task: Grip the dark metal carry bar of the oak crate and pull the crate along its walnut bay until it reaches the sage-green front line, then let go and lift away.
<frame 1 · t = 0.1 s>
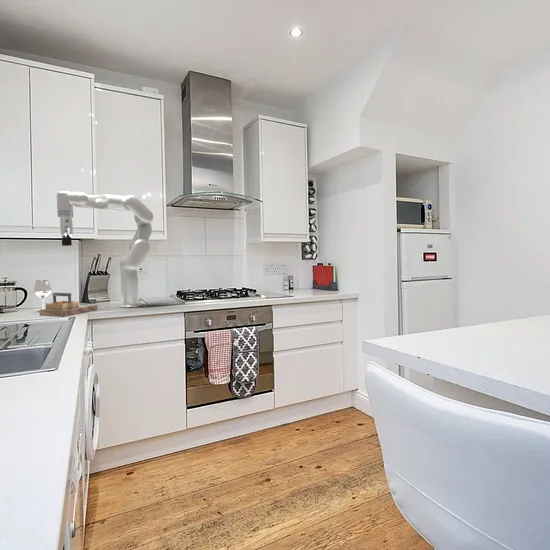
hand: (66, 245, 206), 37 cm above the worktop, tool pointing down, fingers open, 9 cm apart
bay: (69, 314, 200), on the worktop
wineglass: (43, 313, 207), on the worktop
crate: (62, 303, 195), point 7 cm above the worktop, slide at 0.0 cm
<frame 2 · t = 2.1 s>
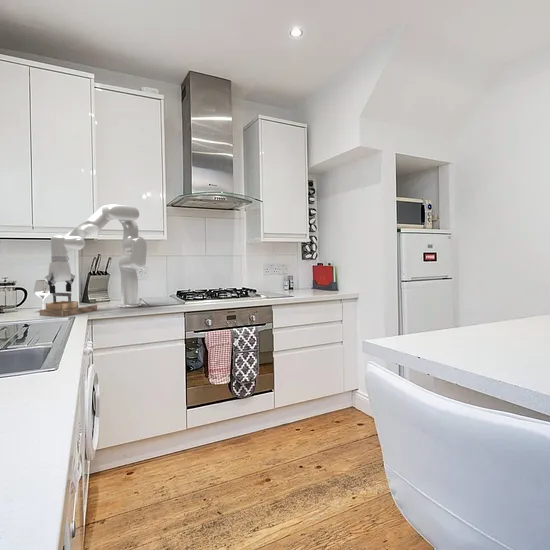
hand: (60, 292, 195), 13 cm above the worktop, tool pointing down, fingers open, 9 cm apart
nothing on the worktop moved.
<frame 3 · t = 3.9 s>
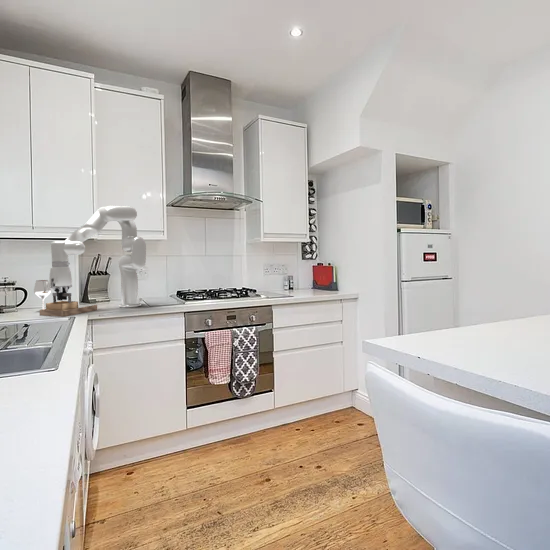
hand: (62, 299, 195), 9 cm above the worktop, tool pointing down, fingers closed on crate, 2 cm apart
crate: (62, 303, 195), point 7 cm above the worktop, slide at 0.0 cm, touching gripper
everything else where it was.
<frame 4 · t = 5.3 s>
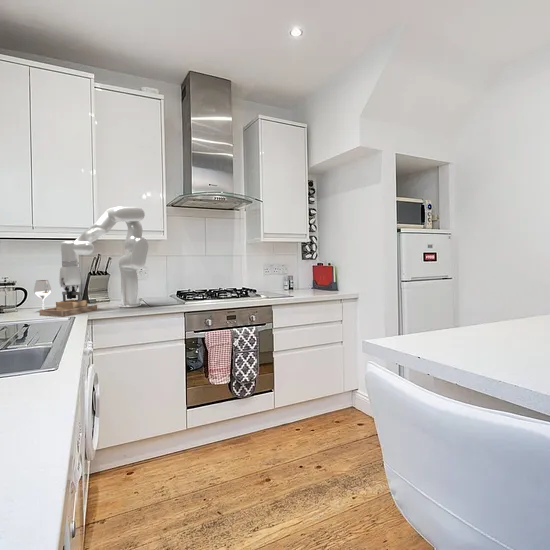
hand: (71, 298, 201), 9 cm above the worktop, tool pointing down, fingers closed on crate, 2 cm apart
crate: (71, 301, 201), point 7 cm above the worktop, slide at 5.9 cm, touching gripper
everything else where it was.
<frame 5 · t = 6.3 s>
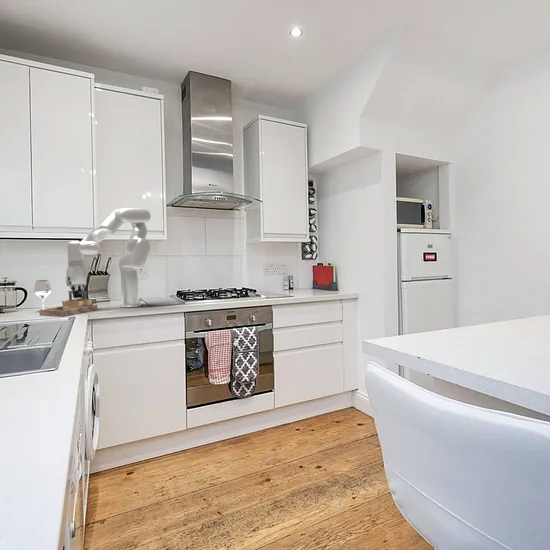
hand: (77, 297, 205), 9 cm above the worktop, tool pointing down, fingers closed on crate, 2 cm apart
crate: (77, 300, 205), point 7 cm above the worktop, slide at 9.9 cm, touching gripper
everything else where it was.
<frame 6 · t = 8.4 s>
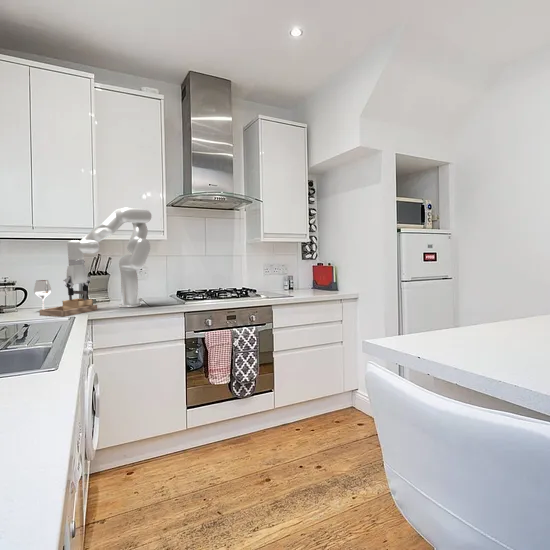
hand: (78, 294, 205), 10 cm above the worktop, tool pointing down, fingers open, 9 cm apart
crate: (77, 300, 205), point 7 cm above the worktop, slide at 10.0 cm
everything else where it was.
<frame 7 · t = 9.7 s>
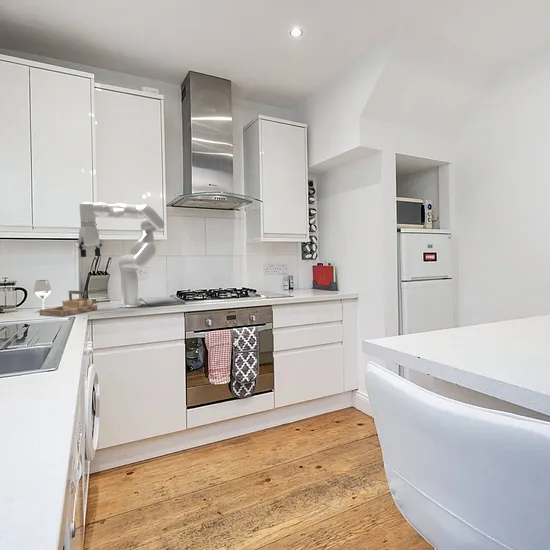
hand: (90, 256, 205), 31 cm above the worktop, tool pointing down, fingers open, 9 cm apart
nothing on the worktop moved.
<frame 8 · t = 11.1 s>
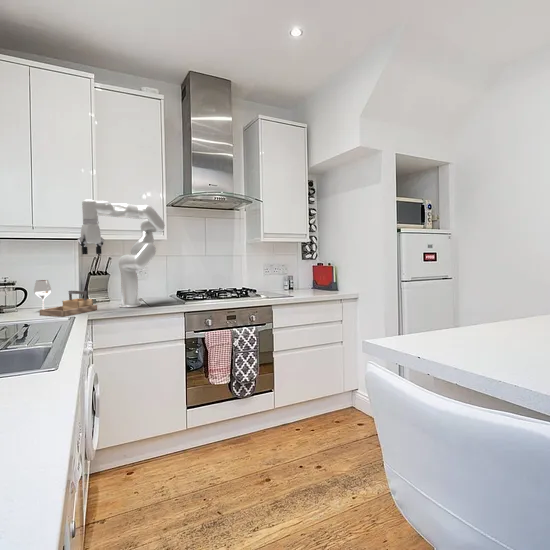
hand: (92, 254, 205), 32 cm above the worktop, tool pointing down, fingers open, 9 cm apart
nothing on the worktop moved.
at the end: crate slide at 10.0 cm; the gripper is holding nothing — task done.
